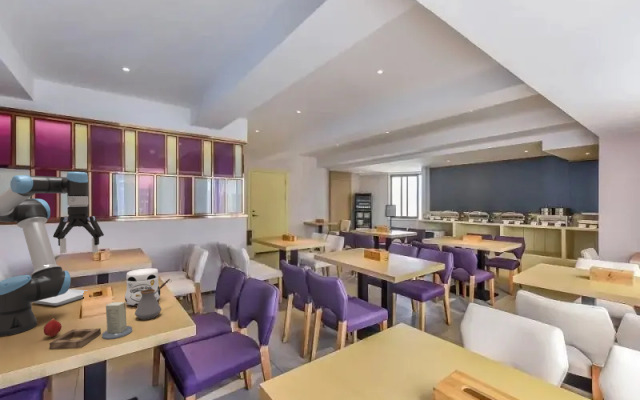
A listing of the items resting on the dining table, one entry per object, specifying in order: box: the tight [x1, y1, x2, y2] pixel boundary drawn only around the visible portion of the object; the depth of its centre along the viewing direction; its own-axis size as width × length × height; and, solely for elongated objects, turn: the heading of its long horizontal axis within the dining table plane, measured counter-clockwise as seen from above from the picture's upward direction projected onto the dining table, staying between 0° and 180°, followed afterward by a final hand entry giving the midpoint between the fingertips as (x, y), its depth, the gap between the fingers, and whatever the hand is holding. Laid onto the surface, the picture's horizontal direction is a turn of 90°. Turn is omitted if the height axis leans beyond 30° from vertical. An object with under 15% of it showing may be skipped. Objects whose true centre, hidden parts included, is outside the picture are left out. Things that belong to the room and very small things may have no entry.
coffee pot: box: [134, 278, 172, 321], centre depth 158 cm, size 21×12×15 cm, turn 166°
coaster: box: [101, 325, 133, 340], centre depth 134 cm, size 11×11×1 cm
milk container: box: [124, 267, 161, 307], centre depth 172 cm, size 17×17×18 cm
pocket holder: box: [48, 328, 102, 350], centre depth 127 cm, size 12×12×2 cm
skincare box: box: [105, 301, 128, 333], centre depth 134 cm, size 6×4×12 cm
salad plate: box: [33, 288, 87, 307], centre depth 179 cm, size 21×21×3 cm
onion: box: [43, 318, 63, 338], centre depth 131 cm, size 6×6×8 cm
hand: (79, 252), depth 139 cm, fingers open, 13 cm apart
